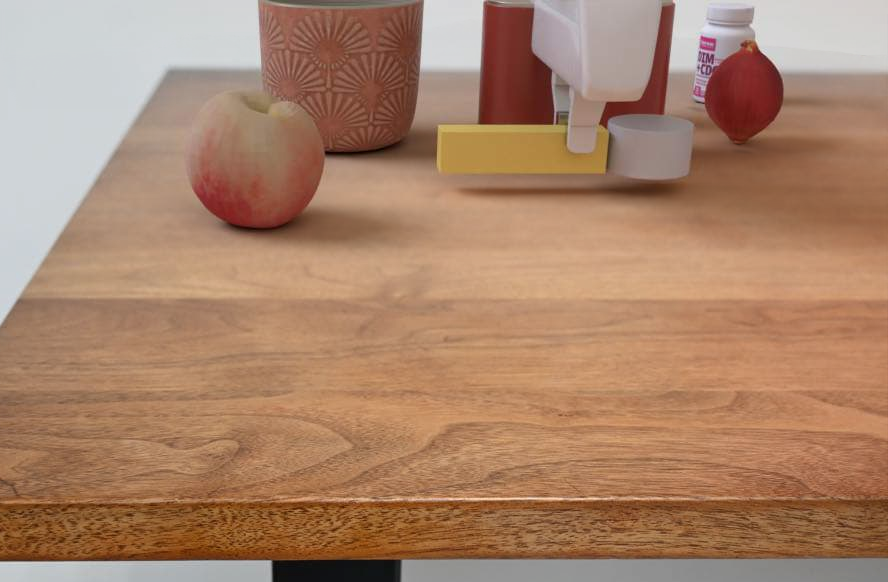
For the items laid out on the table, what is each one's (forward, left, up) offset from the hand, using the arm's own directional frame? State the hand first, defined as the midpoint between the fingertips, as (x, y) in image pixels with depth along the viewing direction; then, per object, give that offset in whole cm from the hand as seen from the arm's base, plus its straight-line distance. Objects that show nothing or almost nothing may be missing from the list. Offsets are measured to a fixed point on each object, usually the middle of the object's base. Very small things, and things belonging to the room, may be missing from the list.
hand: (573, 144), depth 83 cm
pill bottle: (-20, -31, -3) cm, 37 cm away
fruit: (+21, +7, -3) cm, 22 cm away
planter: (+15, -15, -3) cm, 21 cm away
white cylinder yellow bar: (+1, 0, -2) cm, 2 cm away
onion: (-16, -14, -3) cm, 22 cm away
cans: (-2, -11, -3) cm, 12 cm away
